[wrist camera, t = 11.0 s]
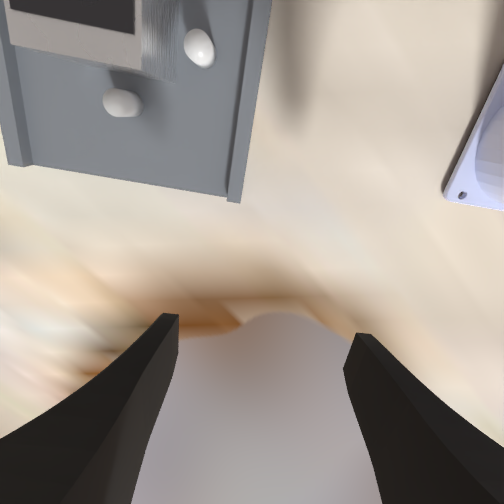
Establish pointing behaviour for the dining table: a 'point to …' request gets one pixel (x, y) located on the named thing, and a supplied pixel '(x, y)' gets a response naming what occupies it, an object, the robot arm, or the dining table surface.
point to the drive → (101, 33)
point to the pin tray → (144, 106)
